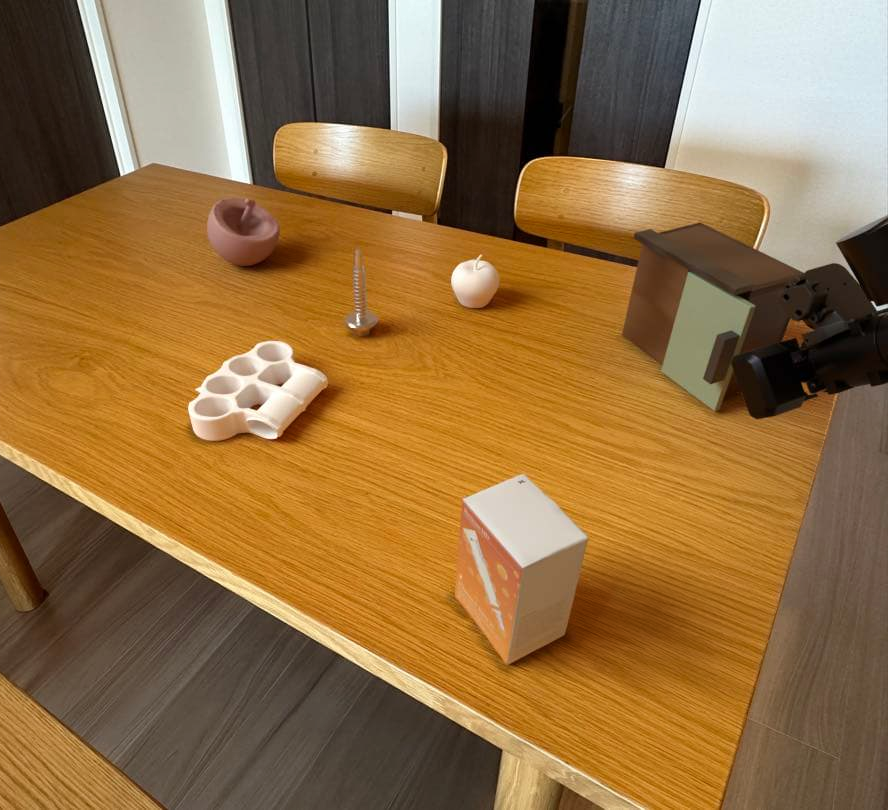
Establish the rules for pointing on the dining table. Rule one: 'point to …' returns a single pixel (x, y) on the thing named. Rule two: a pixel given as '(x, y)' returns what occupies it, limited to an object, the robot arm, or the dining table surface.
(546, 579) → the small box
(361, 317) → the screw
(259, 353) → the white brass knuckles
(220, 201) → the mortar and pestle
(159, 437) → the dining table surface
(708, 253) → the cupboard
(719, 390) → the sliding door
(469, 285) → the apple
